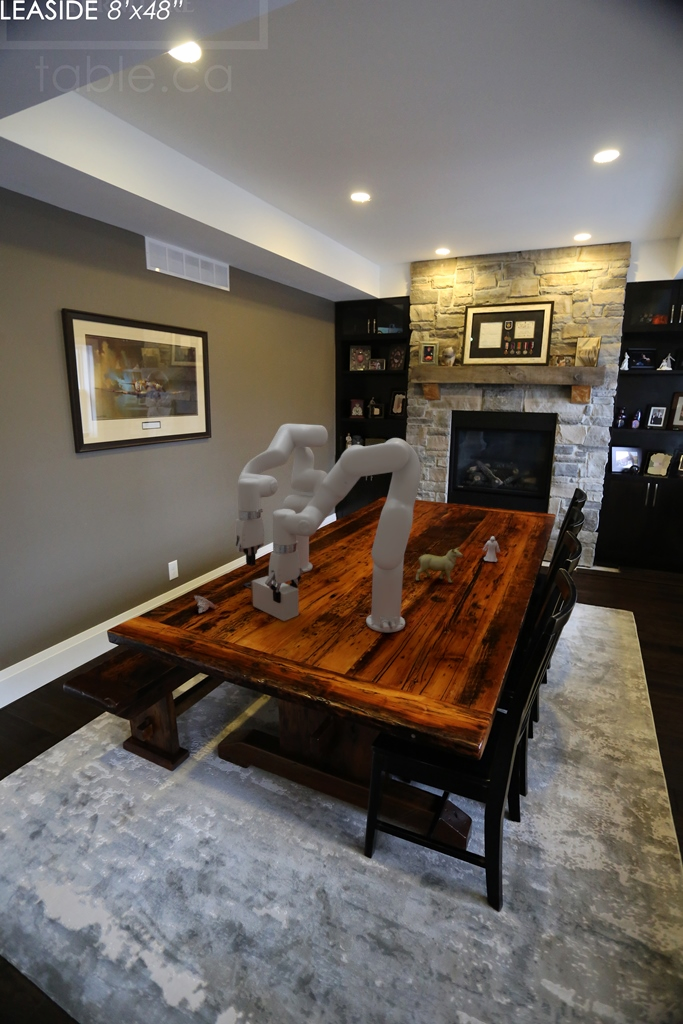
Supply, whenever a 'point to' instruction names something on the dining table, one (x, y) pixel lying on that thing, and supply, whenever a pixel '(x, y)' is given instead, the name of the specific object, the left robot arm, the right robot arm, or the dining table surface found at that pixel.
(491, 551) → the figurine
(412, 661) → the dining table surface
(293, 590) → the cabinet
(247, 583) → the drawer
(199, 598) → the seashell
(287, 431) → the left robot arm
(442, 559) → the toy
